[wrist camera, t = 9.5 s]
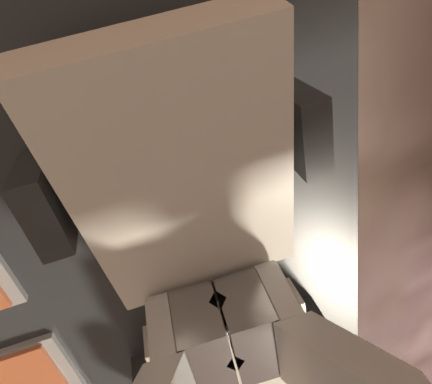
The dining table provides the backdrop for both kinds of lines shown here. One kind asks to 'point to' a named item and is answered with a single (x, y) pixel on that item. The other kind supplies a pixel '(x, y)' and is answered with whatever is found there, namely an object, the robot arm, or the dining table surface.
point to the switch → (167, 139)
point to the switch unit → (291, 267)
